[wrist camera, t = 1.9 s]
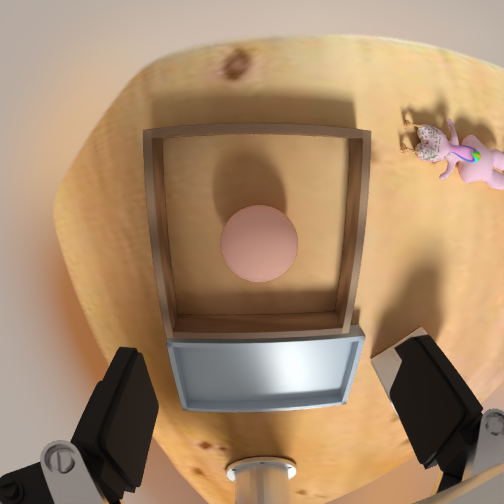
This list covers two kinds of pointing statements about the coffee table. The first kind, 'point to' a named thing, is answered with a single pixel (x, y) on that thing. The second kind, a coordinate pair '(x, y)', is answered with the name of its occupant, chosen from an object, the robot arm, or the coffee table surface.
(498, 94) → the coffee table surface
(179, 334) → the wooden box frame
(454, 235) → the coffee table surface
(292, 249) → the ball
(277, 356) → the tray
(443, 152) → the pink plastic figure
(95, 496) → the robot arm
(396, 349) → the container
